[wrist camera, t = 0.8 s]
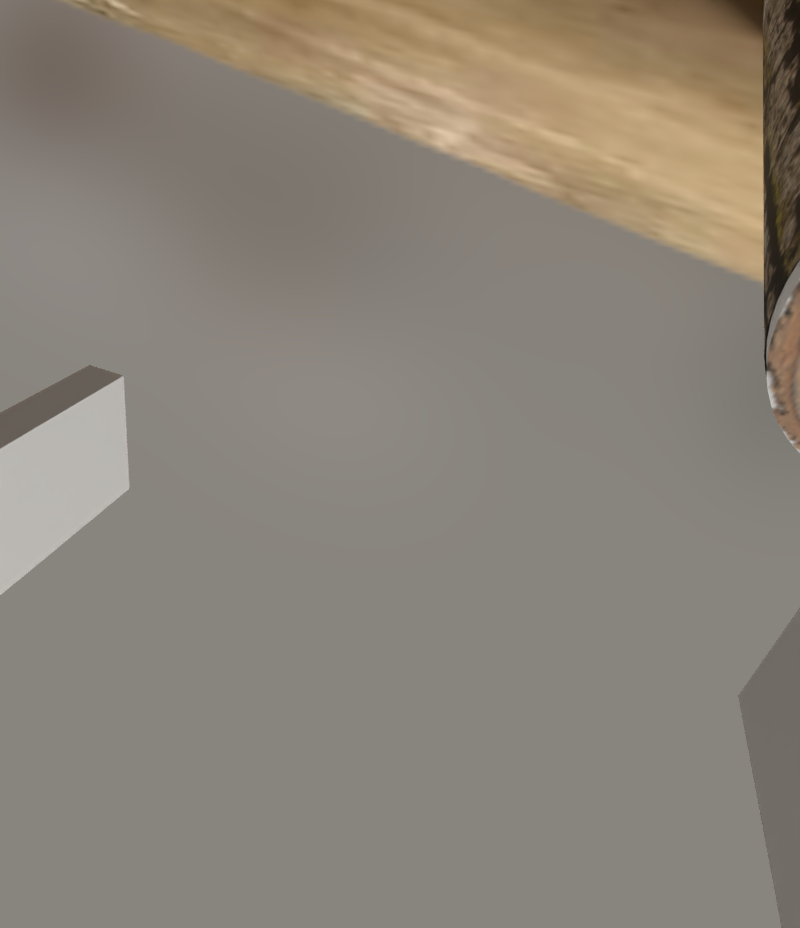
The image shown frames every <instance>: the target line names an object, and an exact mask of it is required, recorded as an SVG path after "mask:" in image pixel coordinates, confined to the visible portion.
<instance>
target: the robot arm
mask: <svg viewBox="0 0 800 928" xmlns="http://www.w3.org/2000/svg"><path fill="white" fill-rule="evenodd" d="M128 489H129V472H128V453H127V434H126V415H125V396H124V376H122V375H119V374H116V373H113V372H110V371H106V370H103V369H100V368H97V367H93V366H90V365H89V366H87V367H85V368H83V369H81V370H80V371H78V372H76V373H74V374H72V375H70V376H68V377H67V378H65V379H63V380H61V381H59V382H57V383H55V384H53V385H52V386H50V387H48V388H46V389H44V390H42V391H40V392H39V393H36V394H35V395H33V396H31V397H29V398H27V399H25V400H24V401H22V402H20V403H18V404H16V405H14V406H12V407H10V408H8V409H7V410H5V411H3V412H1V413H0V595H1V594H2V593H3V592H5V591H6V590H7V589H8V588H10V587H11V586H12V585H13V584H14V583H15V582H17V581H18V580H19V579H20V578H22V577H23V576H24V575H25V574H27V573H28V572H29V571H30V570H31V569H33V568H34V567H35V566H36V565H37V564H39V563H40V562H41V561H42V560H43V559H45V558H46V557H47V556H48V555H50V554H51V553H52V552H53V551H54V550H56V549H57V548H58V547H59V546H60V545H62V544H63V543H64V542H65V541H66V540H67V539H69V538H70V537H71V536H72V535H74V533H76V532H77V531H78V530H80V529H81V528H82V527H83V526H85V525H86V524H87V523H88V522H89V521H91V520H92V519H93V518H94V517H95V516H97V515H98V514H99V513H100V512H101V511H103V510H104V509H105V508H106V507H108V505H110V504H111V503H112V502H113V501H115V500H116V499H117V498H118V497H120V496H121V495H122V494H123V493H124V492H125V491H127V490H128ZM738 697H739V702H740V708H741V713H742V718H743V724H744V729H745V734H746V739H747V745H748V750H749V756H750V761H751V767H752V772H753V777H754V783H755V788H756V793H757V798H758V804H759V809H760V815H761V820H762V825H763V831H764V836H765V841H766V847H767V852H768V858H769V862H770V868H771V874H772V879H773V884H774V890H775V895H776V900H777V906H778V911H779V916H780V922H781V927H782V928H800V608H799V610H798V611H797V613H796V614H795V615H794V617H793V618H792V620H791V621H790V623H789V624H788V625H787V627H786V628H785V630H784V631H783V633H782V634H781V636H780V637H779V638H778V640H777V641H776V643H775V644H774V646H773V647H772V648H771V650H770V651H769V653H768V654H767V655H766V657H765V658H764V660H763V661H762V663H761V664H760V666H759V667H758V669H757V670H756V671H755V673H754V674H753V675H752V677H751V679H750V680H749V681H748V683H747V684H746V686H745V687H744V688H743V690H742V691H741V693H740V694H739V695H738Z"/></svg>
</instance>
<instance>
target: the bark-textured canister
mask: <svg viewBox="0 0 800 928" xmlns="http://www.w3.org/2000/svg"><path fill="white" fill-rule="evenodd" d="M763 26H764V28H763V158H764V359H765V370H766V377H767V386H768V394H769V398H770V402H771V406H772V409H773V412H774V414H775V416H776V419H777V421H778V424H779V425H780V427H781V429H782V430H783V432H784V434H785V436H786V437H787V439H788V440H789V441H790V442H791V444H792V445H793V446H794V447H795V449H796V450H797V451H798V452H799V453H800V0H764V13H763Z"/></svg>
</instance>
